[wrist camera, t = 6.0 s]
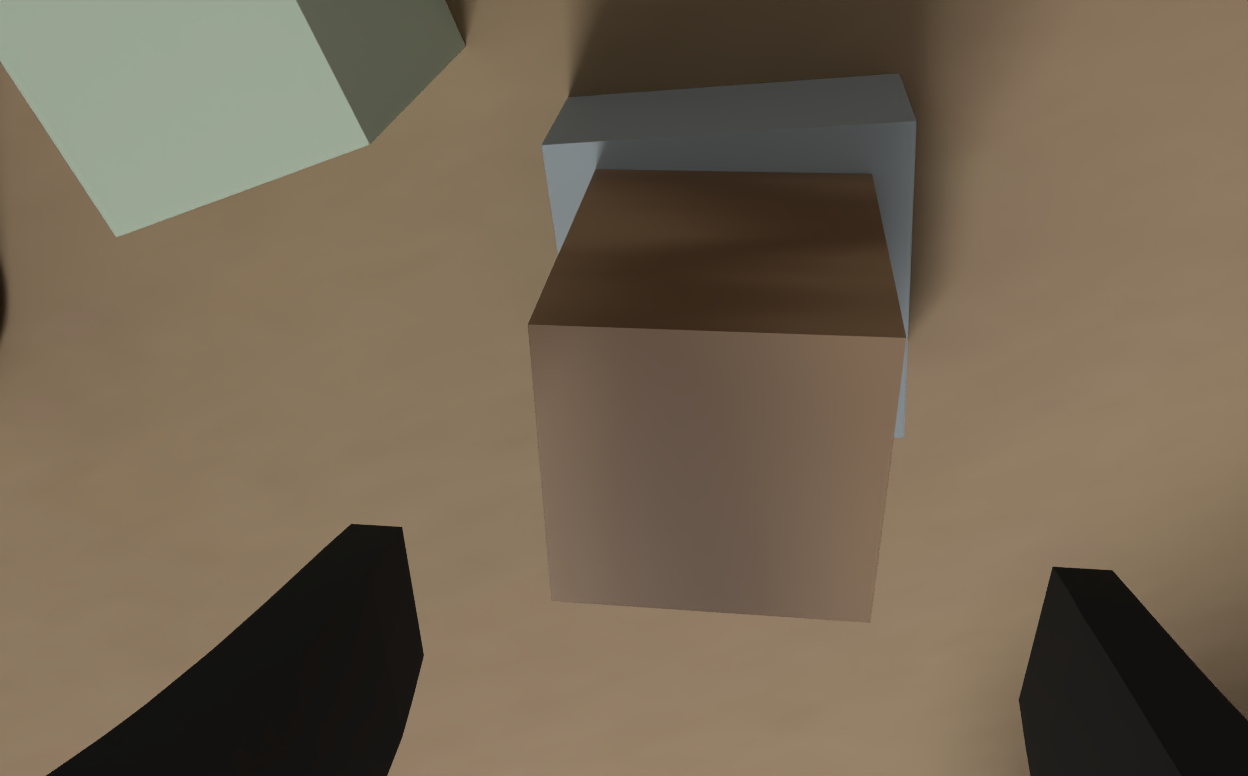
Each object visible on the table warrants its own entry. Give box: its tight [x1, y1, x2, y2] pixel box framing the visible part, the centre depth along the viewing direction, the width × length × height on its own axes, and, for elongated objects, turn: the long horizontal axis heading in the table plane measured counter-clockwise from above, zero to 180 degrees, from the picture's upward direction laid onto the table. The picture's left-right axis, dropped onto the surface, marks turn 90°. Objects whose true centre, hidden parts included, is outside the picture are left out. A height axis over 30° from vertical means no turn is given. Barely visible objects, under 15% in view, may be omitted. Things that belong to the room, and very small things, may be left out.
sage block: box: [0, 0, 466, 237], centre depth 17 cm, size 4×4×6 cm
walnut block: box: [528, 169, 906, 623], centre depth 16 cm, size 4×4×6 cm
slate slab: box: [542, 73, 916, 438], centre depth 20 cm, size 6×6×3 cm
